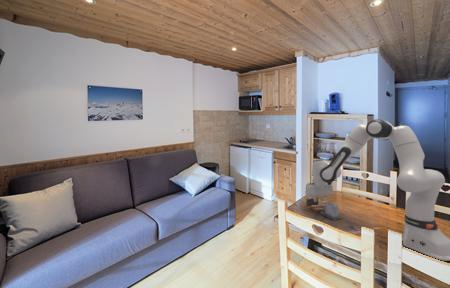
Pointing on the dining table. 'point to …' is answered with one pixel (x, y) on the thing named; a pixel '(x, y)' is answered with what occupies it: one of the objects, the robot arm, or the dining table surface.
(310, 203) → the rack
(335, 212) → the medicine box
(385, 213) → the dining table surface
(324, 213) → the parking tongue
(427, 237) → the robot arm
